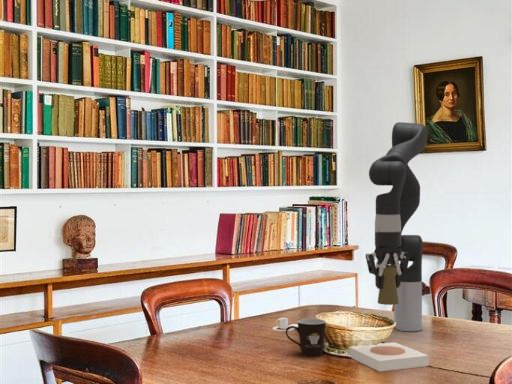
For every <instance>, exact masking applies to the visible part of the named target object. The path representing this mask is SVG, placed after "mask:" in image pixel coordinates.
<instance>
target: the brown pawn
mask: <svg viewBox="0 0 512 384" xmlns="http://www.w3.org/2000/svg"><path fill="white" fill-rule="evenodd" d="M396 275H397V268H396V267H395V266H392V265H390V264H389V265H386V267H385V269H384V270H383V274H382V276H383V289H378V298H377V304H378V305H385V306H387V305H388V306H391V305H392V306H394V305H395V304H398V303H399V302H398V294H397V287H396V279H395V276H396Z"/></svg>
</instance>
